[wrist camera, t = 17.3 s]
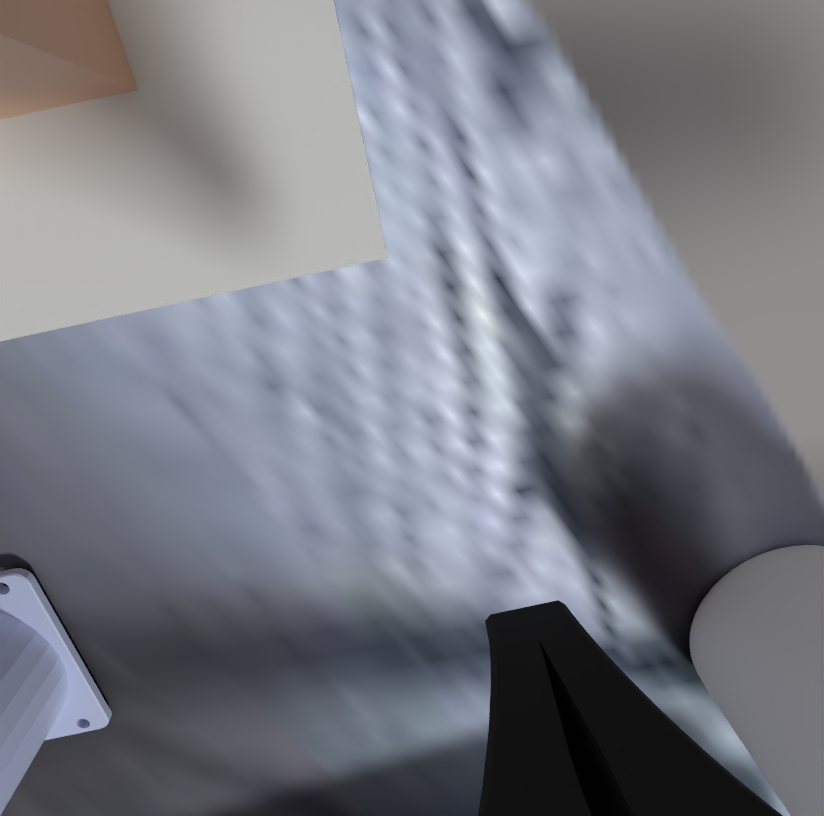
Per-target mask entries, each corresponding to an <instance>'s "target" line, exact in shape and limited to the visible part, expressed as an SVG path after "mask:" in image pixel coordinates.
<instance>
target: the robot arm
mask: <svg viewBox="0 0 824 816" xmlns="http://www.w3.org/2000/svg"><path fill="white" fill-rule="evenodd" d="M2 583H4V584H7V585H8V586H9V587H6V586H4V585H3V584H2ZM485 622H486V628H487V633H488V638H489V644H490V658H491V696H490V717H489V733H488V743H487V752H486V761H485V770H484V779H483V787H482V794H481V801H480V808H479V814H478V816H782V815H781V814H780V813H779V812H777V811H776V810H775V809H773V808H772V807H771V806H770V805H768V804H767V803H766V802H765V801H763V800H762V799H761V798H760V797H759V796H757V795H756V794H755V793H754V792H752V791H751V790H750V789H749V788H748V787H746V786H745V785H744V784H743V783H741V782H740V781H739V780H738V779H737V778H735V777H734V776H733V775H732V774H731V773H730V772H728V771H727V770H726V769H725V768H724V767H723V766H721V765H720V764H719V763H718V762H717V761H716V760H714V759H713V758H712V757H711V756H710V755H709V754H708V753H707V752H705V751H704V750H703V749H702V748H701V747H700V746H699V745H698V744H697V743H695V742H694V741H693V740H692V739H691V738H690V737H689V736H688V735H687V734H686V733H685V732H683V731H682V730H681V729H680V728H679V727H678V726H677V725H676V724H675V723H674V722H673V721H672V720H670V719H669V718H668V717H667V716H666V715H665V714H664V713H663V712H662V711H661V710H660V709H659V708H658V707H657V706H656V705H655V704H654V703H653V702H652V701H651V700H650V699H649V698H648V697H647V696H646V695H645V694H644V693H643V692H642V691H641V690H640V689H639V688H638V687H637V686H636V685H635V684H634V683H633V682H632V681H631V680H630V679H629V678H628V677H627V676H626V675H625V674H624V673H623V672H622V671H621V669H620V668H619V667H618V666H617V665H616V664H615V663H614V662H613V661H612V660H611V659H610V658H609V657H608V655H607V654H606V653H605V652H604V651H603V650H602V649H601V648H600V646H599V645H598V644H597V643H596V642H595V641H594V640H593V639H592V637H591V636H590V635H589V634H588V633H587V632H586V630H585V629H584V628H583V627H582V626H581V624H580V623H579V622H578V621H577V619H576V618H575V617H574V616H573V614H572V613H571V612H570V610H569V609H568V608H567V606H566V605H565V604H563V603H562V602H560V601H559V600H558V601H553V602H548V603H544V604H539V605H534V606H529V607H525V608H520V609H515V610H510V611H506V612H501V613H496V614H491V615H490V616H489V617H488V618H487V620H486V621H485ZM111 716H112V713H111V710H110V709H109V707H108V705H107V703H106V702H105V700H104V698H103V696H102V695H101V693H100V691H99V689H98V688H97V686H96V684H95V682H94V681H93V679H92V677H91V675H90V674H89V672H88V670H87V668H86V666H85V665H84V663H83V661H82V659H81V658H80V656H79V654H78V652H77V651H76V649H75V647H74V645H73V644H72V642H71V640H70V638H69V637H68V635H67V633H66V631H65V630H64V628H63V626H62V624H61V623H60V621H59V619H58V617H57V616H56V614H55V612H54V610H53V609H52V607H51V605H50V603H49V601H48V600H47V598H46V596H45V594H44V593H43V591H42V589H41V587H40V586H39V584H38V582H37V580H36V579H35V577H34V576H33V574H32V573H31V572H29V571H28V570H25V569H22V568H14V569H9V570H5V571H0V815H1V814H2V812H3V810H4V809H5V807H6V805H7V803H8V802H9V800H10V798H11V797H12V795H13V793H14V791H15V790H16V788H17V786H18V785H19V783H20V781H21V779H22V778H23V776H24V774H25V772H26V771H27V769H28V767H29V766H30V764H31V762H32V760H33V759H34V757H35V755H36V754H37V752H38V750H39V748H40V747H41V745H42V743H43V742H44V740H48V739H53V738H58V737H63V736H68V735H72V734H77V733H82V732H87V731H91V730H96V729H101V728H103V727H105V726H106V725H107V724H108V723H109V721H110V718H111Z"/></svg>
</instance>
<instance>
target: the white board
mask: <svg viewBox="0 0 824 816" xmlns="http://www.w3.org/2000/svg"><path fill="white" fill-rule="evenodd" d="M108 3H109V6H110V9H111V12H112V15H113V18H114V21H115V24H116V27H117V30H118V33H119V35H120V38H121V41H122V44H123V47H124V50H125V53H126V56H127V59H128V62H129V65H130V68H131V71H132V74H133V77H134V80H135V82H136V85H137V88H138V90H134V91H129V92H125V93H120V94H116V95H111V96H107V97H102V98H97V99H93V100H88V101H84V102H79V103H75V104H70V105H66V106H61V107H56V108H52V109H47V110H43V111H38V112H34V113H29V114H24V115H20V116H15V117H11V118H6V119H2V120H0V341H4V340H8V339H13V338H18V337H22V336H27V335H32V334H36V333H41V332H46V331H50V330H55V329H60V328H64V327H69V326H73V325H78V324H83V323H87V322H92V321H97V320H101V319H106V318H111V317H115V316H120V315H124V314H129V313H134V312H138V311H143V310H148V309H152V308H157V307H162V306H166V305H171V304H175V303H180V302H185V301H189V300H194V299H199V298H203V297H208V296H213V295H217V294H222V293H226V292H231V291H236V290H240V289H245V288H250V287H254V286H259V285H264V284H268V283H273V282H277V281H282V280H287V279H291V278H296V277H301V276H305V275H310V274H315V273H319V272H324V271H329V270H333V269H338V268H342V267H347V266H352V265H356V264H361V263H366V262H370V261H375V260H380V259H384V258H388V257H387V252H386V248H385V243H384V238H383V233H382V229H381V224H380V219H379V214H378V210H377V205H376V200H375V196H374V191H373V186H372V181H371V177H370V172H369V167H368V162H367V158H366V153H365V148H364V143H363V139H362V134H361V129H360V125H359V120H358V115H357V110H356V106H355V101H354V96H353V91H352V87H351V82H350V77H349V72H348V68H347V63H346V58H345V54H344V49H343V44H342V39H341V35H340V30H339V25H338V20H337V16H336V11H335V6H334V1H333V0H108Z"/></svg>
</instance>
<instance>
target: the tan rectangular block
mask: <svg viewBox="0 0 824 816" xmlns="http://www.w3.org/2000/svg"><path fill="white" fill-rule="evenodd" d="M134 90H138V88H137V85H136V82H135V80H134V77H133V74H132V71H131V68H130V65H129V62H128V59H127V56H126V53H125V50H124V47H123V44H122V41H121V38H120V35H119V33H118V30H117V27H116V24H115V21H114V18H113V15H112V12H111V9H110V6H109V3H108V0H0V120H2V119H6V118H11V117H15V116H20V115H24V114H29V113H34V112H38V111H43V110H47V109H52V108H56V107H61V106H66V105H70V104H75V103H79V102H84V101H88V100H93V99H97V98H102V97H107V96H111V95H116V94H120V93H125V92H129V91H134Z"/></svg>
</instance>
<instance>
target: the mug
mask: <svg viewBox="0 0 824 816" xmlns="http://www.w3.org/2000/svg"><path fill="white" fill-rule="evenodd" d="M689 645H690V653H691V658H692V661H693V664H694V666H695V669H696V671H697V673H698V675H699V676H700V678H701V680H702V682H703V683H704V685H705V687H706V689H707V690H708V692H709V693H710V695H711V696H712V698H713V699H714V701H715V702H716V704H717V705H718V707H719V708H720V710H721V711H722V713H723V714H724V716H725V717H726V719H727V720H728V722H729V723H730V725H731V726H732V728H733V729H734V731H735V732H736V734H737V735H738V737H739V738H740V740H741V741H742V743H743V744H744V746H745V747H746V749H747V750H748V752H749V753H750V755H751V756H752V758H753V759H754V761H755V762H756V764H757V765H758V767H759V768H760V770H761V771H762V773H763V774H764V776H765V777H766V779H767V780H768V782H769V783H770V785H771V786H772V788H773V789H774V791H775V792H776V794H777V795H778V797H779V798H780V800H781V801H782V803H783V804H784V806H785V807H786V809H787V810H788V812H789V813H790V815H791V816H824V546H820V545H798V546H789V547H784V548H779V549H775V550H771V551H768V552H765V553H762V554H760V555H758V556H755V557H753V558H751V559H749V560H747V561H745V562H743V563H742V564H740V565H738V566H737V567H735V568H734V569H732V570H731V571H730V572H728V573H727V574H726V575H725V576H723V577H722V578H721V579H720V580H719V581H718V582H717V583H716V584H715V585H714V586H713V587H712V588H711V590H710V591H709V592H708V593H707V594H706V596H705V597H704V599H703V600H702V602H701V603H700V605H699V607H698V609H697V611H696V614H695V616H694V619H693V622H692V625H691V630H690V639H689Z"/></svg>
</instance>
